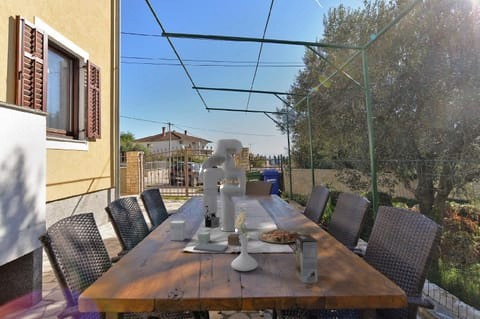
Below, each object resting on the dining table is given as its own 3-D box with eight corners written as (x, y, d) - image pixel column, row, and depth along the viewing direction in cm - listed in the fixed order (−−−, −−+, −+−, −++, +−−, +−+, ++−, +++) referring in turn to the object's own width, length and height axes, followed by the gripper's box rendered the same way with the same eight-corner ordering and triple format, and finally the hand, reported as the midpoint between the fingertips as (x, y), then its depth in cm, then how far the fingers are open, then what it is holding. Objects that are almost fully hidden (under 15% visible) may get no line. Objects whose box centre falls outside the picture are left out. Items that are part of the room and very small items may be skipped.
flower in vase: (232, 263, 127) (231, 208, 127) (257, 263, 126) (256, 208, 126) (230, 275, 114) (229, 213, 114) (258, 275, 113) (257, 213, 113)
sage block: (202, 239, 166) (202, 231, 166) (210, 240, 165) (210, 232, 165) (198, 242, 160) (198, 233, 160) (206, 243, 159) (206, 234, 159)
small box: (186, 238, 170) (185, 220, 170) (183, 240, 164) (183, 222, 164) (173, 237, 171) (173, 220, 171) (170, 240, 165) (169, 222, 165)
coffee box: (295, 273, 115) (294, 234, 115) (310, 273, 115) (310, 233, 115) (301, 283, 106) (301, 240, 106) (318, 282, 106) (318, 239, 106)
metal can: (236, 237, 171) (236, 227, 171) (244, 237, 169) (244, 227, 169) (234, 239, 166) (234, 229, 166) (242, 240, 165) (242, 229, 165)
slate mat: (200, 244, 155) (200, 243, 155) (227, 247, 151) (227, 245, 151) (193, 249, 147) (193, 247, 147) (222, 252, 142) (222, 250, 142)
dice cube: (206, 227, 148) (206, 217, 148) (213, 225, 152) (213, 216, 152) (212, 228, 145) (212, 219, 145) (219, 227, 148) (219, 217, 148)
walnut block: (231, 242, 161) (231, 233, 161) (239, 242, 159) (239, 234, 159) (227, 245, 155) (227, 236, 155) (236, 245, 154) (236, 236, 154)
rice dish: (250, 243, 163) (250, 234, 163) (268, 230, 187) (268, 222, 187) (297, 250, 150) (297, 239, 150) (310, 235, 174) (310, 226, 174)
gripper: (210, 190, 158) (210, 222, 158) (196, 193, 142) (197, 229, 142) (222, 190, 156) (223, 222, 156) (210, 193, 140) (210, 230, 139)
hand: (210, 225), depth 149 cm, fingers closed on dice cube, 6 cm apart
